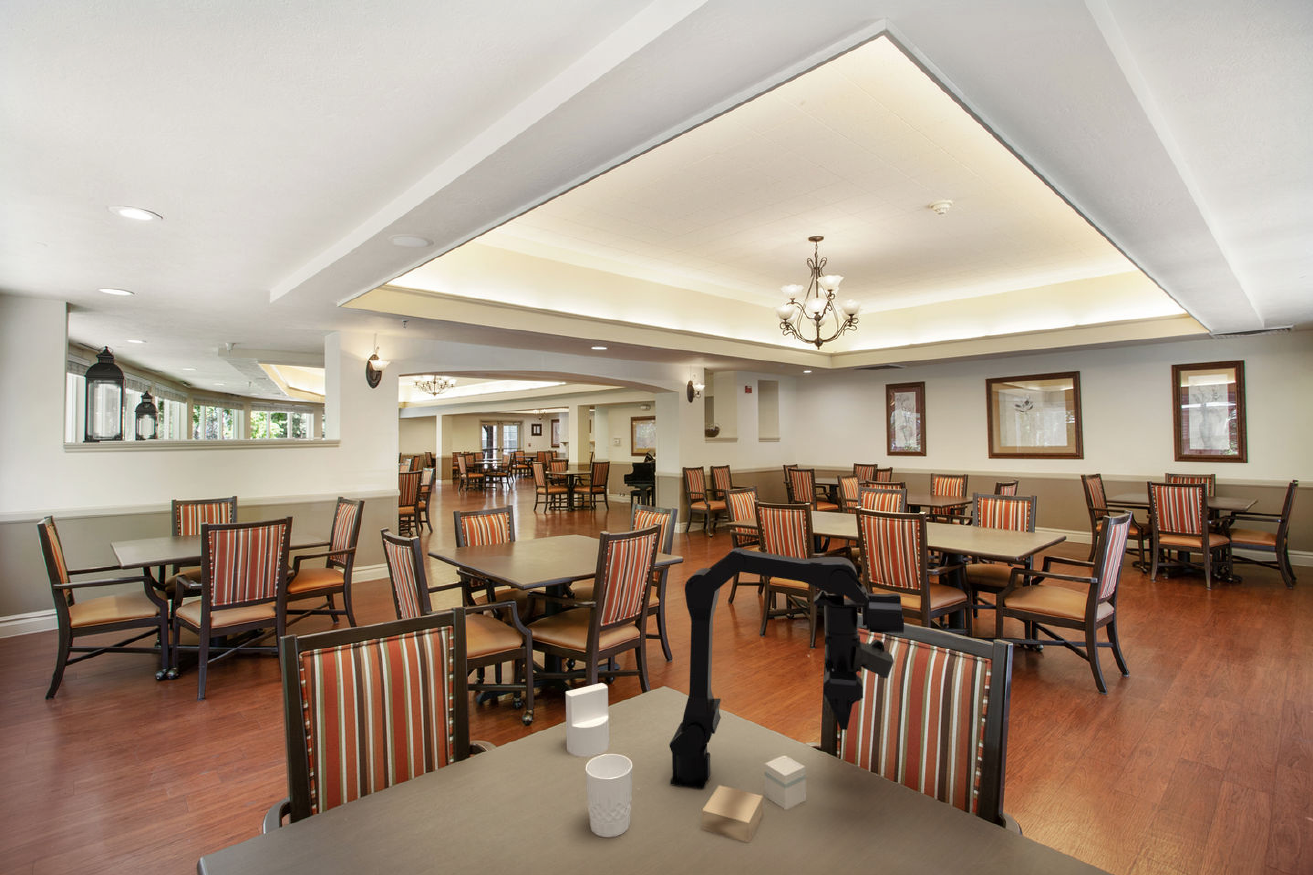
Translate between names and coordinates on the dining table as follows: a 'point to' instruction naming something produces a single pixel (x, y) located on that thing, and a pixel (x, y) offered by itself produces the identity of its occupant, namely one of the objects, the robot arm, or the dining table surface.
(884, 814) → the dining table surface
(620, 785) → the white cup
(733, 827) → the oak block
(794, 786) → the white banded box
